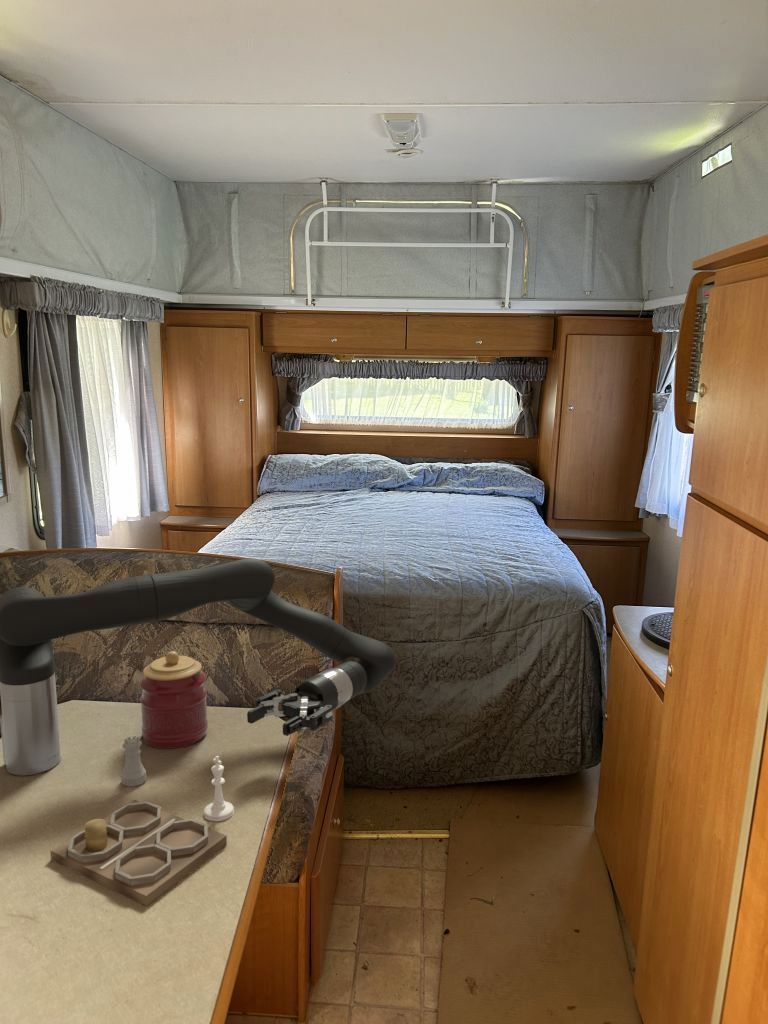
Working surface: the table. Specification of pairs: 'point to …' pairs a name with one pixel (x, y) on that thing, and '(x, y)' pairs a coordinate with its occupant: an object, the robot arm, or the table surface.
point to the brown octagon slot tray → (139, 850)
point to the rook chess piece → (133, 764)
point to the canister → (173, 702)
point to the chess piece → (218, 797)
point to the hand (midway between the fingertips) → (266, 724)
